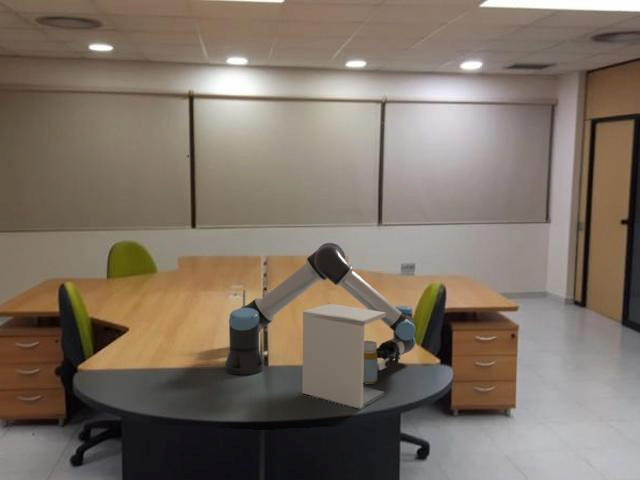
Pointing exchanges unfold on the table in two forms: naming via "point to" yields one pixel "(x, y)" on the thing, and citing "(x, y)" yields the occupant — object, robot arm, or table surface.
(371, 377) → the bottle
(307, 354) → the shelf unit
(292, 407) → the table surface
